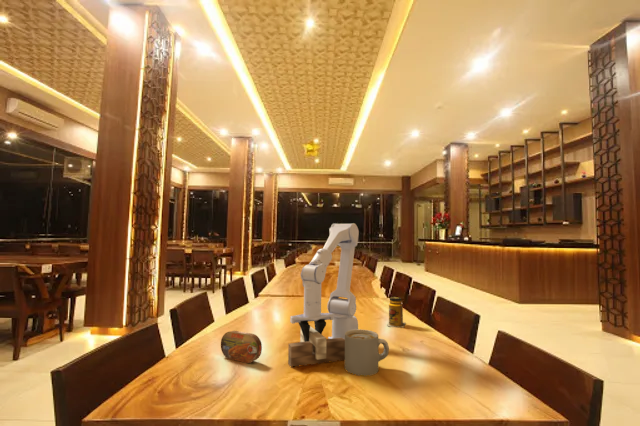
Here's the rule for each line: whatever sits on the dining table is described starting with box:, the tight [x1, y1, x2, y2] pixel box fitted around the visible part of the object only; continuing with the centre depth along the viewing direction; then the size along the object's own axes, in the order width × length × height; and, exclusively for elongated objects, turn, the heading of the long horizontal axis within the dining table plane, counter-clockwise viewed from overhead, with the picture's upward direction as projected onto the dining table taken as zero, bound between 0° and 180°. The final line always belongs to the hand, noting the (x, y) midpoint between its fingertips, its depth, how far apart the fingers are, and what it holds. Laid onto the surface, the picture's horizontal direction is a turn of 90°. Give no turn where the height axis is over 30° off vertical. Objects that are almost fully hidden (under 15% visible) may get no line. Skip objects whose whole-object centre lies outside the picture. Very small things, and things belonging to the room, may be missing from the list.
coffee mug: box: [344, 328, 390, 377], centre depth 97 cm, size 13×10×10 cm
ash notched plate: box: [299, 325, 327, 360], centre depth 106 cm, size 3×16×6 cm, turn 22°
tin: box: [220, 330, 263, 364], centre depth 102 cm, size 15×3×8 cm, turn 62°
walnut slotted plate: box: [287, 338, 345, 368], centre depth 101 cm, size 18×3×6 cm, turn 112°
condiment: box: [386, 296, 406, 328], centre depth 145 cm, size 7×8×12 cm
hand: (311, 343), depth 106 cm, fingers closed on ash notched plate, 3 cm apart
